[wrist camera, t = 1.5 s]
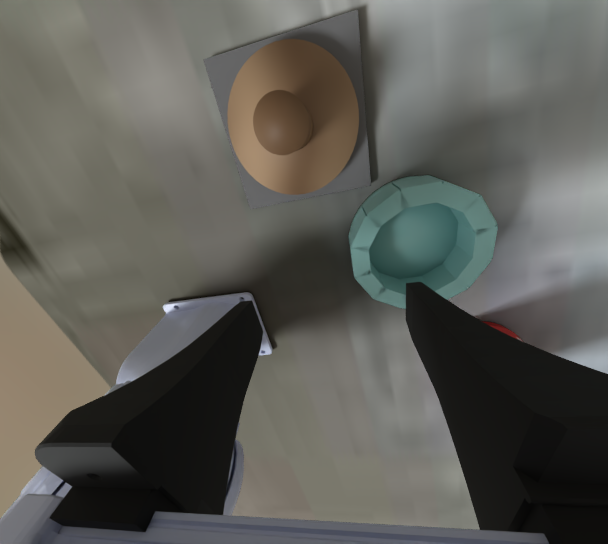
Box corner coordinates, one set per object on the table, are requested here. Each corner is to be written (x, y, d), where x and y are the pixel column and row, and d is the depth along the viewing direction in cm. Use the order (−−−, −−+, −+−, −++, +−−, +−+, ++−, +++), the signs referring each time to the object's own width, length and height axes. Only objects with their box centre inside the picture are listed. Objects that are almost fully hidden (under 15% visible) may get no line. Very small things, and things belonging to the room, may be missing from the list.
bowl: (355, 290, 22) (358, 313, 19) (341, 189, 18) (344, 199, 15) (463, 277, 20) (485, 300, 18) (477, 162, 16) (508, 168, 13)
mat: (252, 207, 19) (250, 209, 18) (207, 62, 15) (203, 59, 14) (369, 184, 17) (371, 185, 17) (356, 14, 13) (357, 9, 13)
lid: (254, 201, 18) (230, 221, 14) (214, 67, 14) (165, 38, 10) (362, 179, 17) (374, 194, 12) (349, 25, 13) (359, -31, 9)
